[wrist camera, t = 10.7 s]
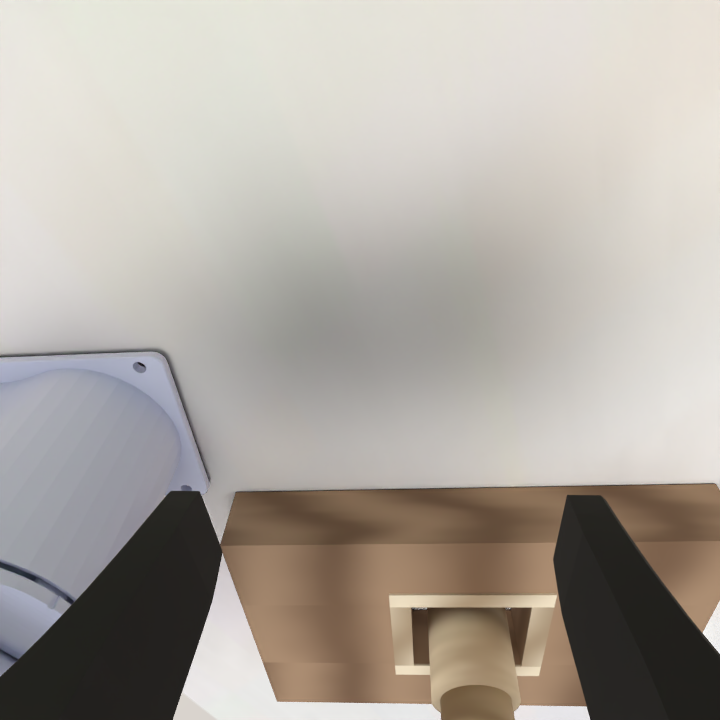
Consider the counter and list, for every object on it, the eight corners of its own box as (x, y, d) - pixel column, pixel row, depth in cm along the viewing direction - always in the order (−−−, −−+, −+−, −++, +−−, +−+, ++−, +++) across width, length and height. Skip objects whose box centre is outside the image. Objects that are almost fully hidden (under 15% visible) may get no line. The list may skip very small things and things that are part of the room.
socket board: (285, 650, 35) (276, 703, 33) (235, 492, 26) (219, 547, 24) (642, 652, 33) (663, 709, 31) (715, 483, 25) (752, 542, 22)
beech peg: (422, 599, 31) (429, 794, 24) (430, 556, 29) (441, 757, 21) (493, 604, 31) (522, 801, 24) (507, 562, 29) (544, 766, 21)
